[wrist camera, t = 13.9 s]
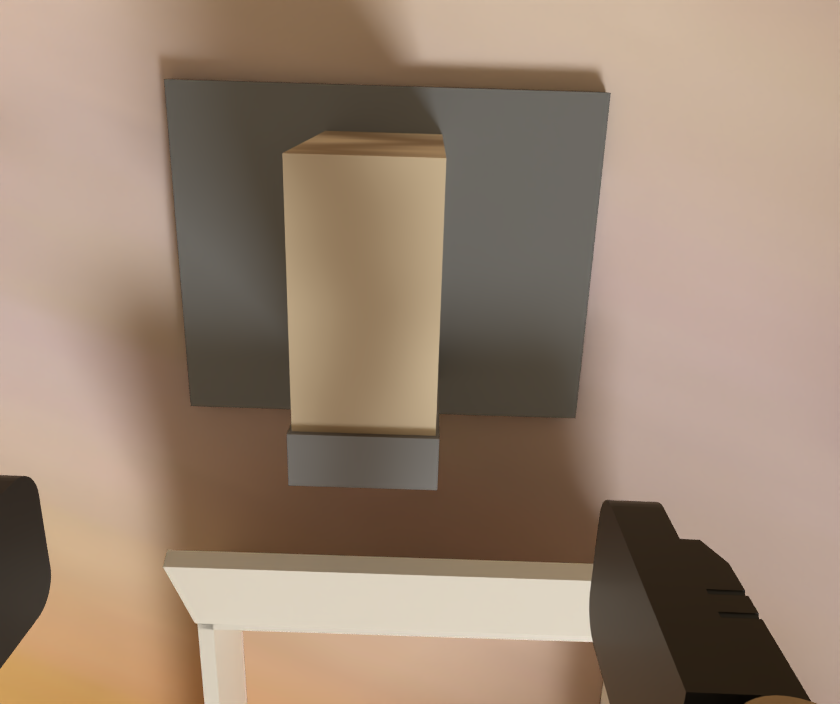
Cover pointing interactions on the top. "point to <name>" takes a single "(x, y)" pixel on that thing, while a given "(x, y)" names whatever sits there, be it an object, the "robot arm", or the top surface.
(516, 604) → the carton
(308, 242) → the capped box
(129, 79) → the top surface
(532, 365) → the mat
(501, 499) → the top surface
